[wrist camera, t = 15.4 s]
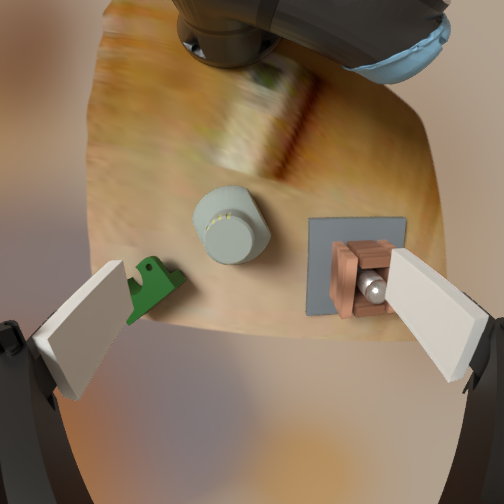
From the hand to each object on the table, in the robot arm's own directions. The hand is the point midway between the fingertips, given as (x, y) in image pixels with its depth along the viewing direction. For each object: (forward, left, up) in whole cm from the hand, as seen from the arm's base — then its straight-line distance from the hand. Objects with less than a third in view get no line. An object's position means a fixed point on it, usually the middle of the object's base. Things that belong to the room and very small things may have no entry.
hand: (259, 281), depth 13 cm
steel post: (+12, +16, -28) cm, 34 cm away
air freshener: (+4, -3, -29) cm, 29 cm away
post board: (+12, +16, -29) cm, 35 cm away
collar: (+12, +16, -28) cm, 34 cm away
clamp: (+13, -17, -29) cm, 36 cm away
